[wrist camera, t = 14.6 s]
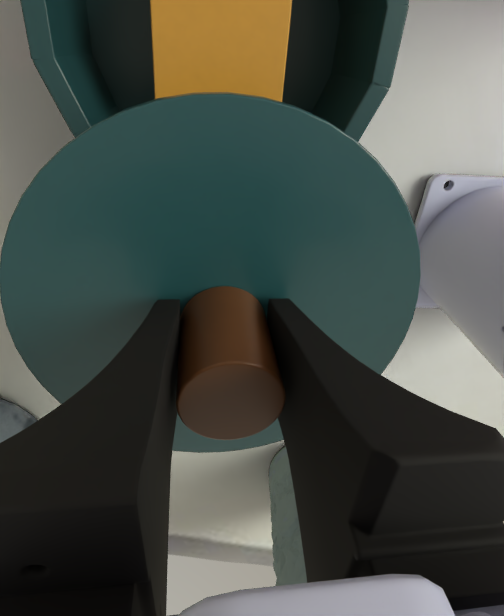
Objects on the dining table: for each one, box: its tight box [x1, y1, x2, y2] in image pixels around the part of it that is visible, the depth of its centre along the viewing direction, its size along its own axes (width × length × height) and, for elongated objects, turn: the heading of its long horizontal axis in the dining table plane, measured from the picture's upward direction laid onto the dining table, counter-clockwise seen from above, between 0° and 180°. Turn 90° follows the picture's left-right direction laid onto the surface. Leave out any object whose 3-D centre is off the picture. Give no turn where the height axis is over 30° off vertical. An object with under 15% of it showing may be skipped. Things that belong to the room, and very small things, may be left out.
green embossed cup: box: [269, 446, 307, 586], centre depth 28 cm, size 10×10×12 cm
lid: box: [0, 92, 421, 453], centre depth 11 cm, size 12×12×4 cm
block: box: [150, 0, 292, 102], centre depth 15 cm, size 4×4×4 cm
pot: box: [20, 0, 409, 142], centre depth 14 cm, size 11×11×5 cm
